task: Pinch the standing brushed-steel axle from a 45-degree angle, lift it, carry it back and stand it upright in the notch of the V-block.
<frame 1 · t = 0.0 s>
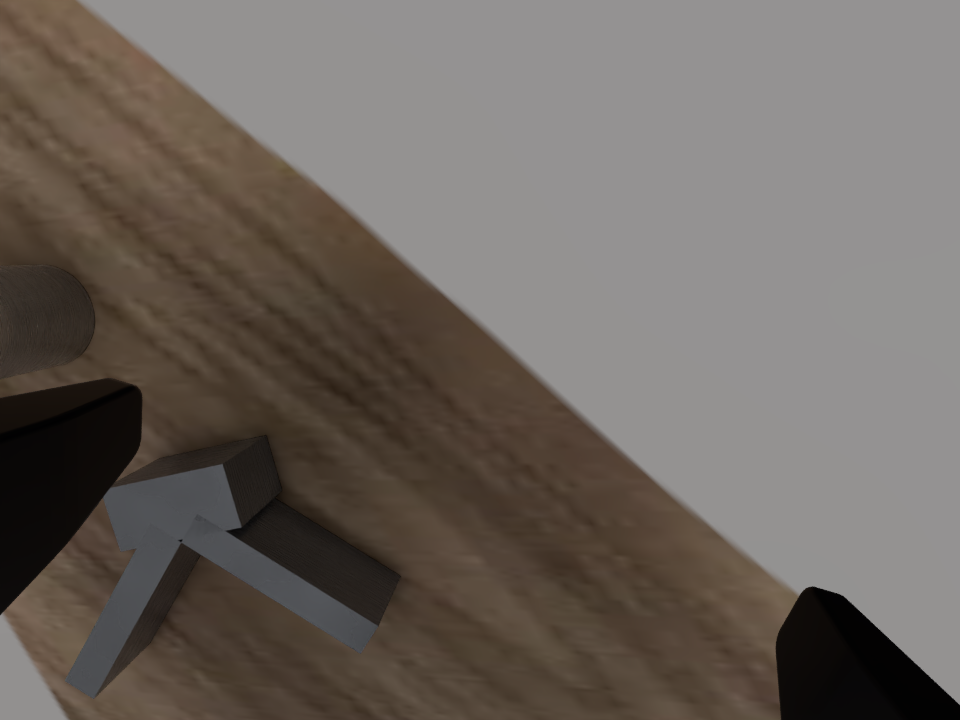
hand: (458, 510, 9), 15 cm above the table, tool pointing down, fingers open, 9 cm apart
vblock: (248, 569, 27), on the table
axle: (46, 315, 26), on the table
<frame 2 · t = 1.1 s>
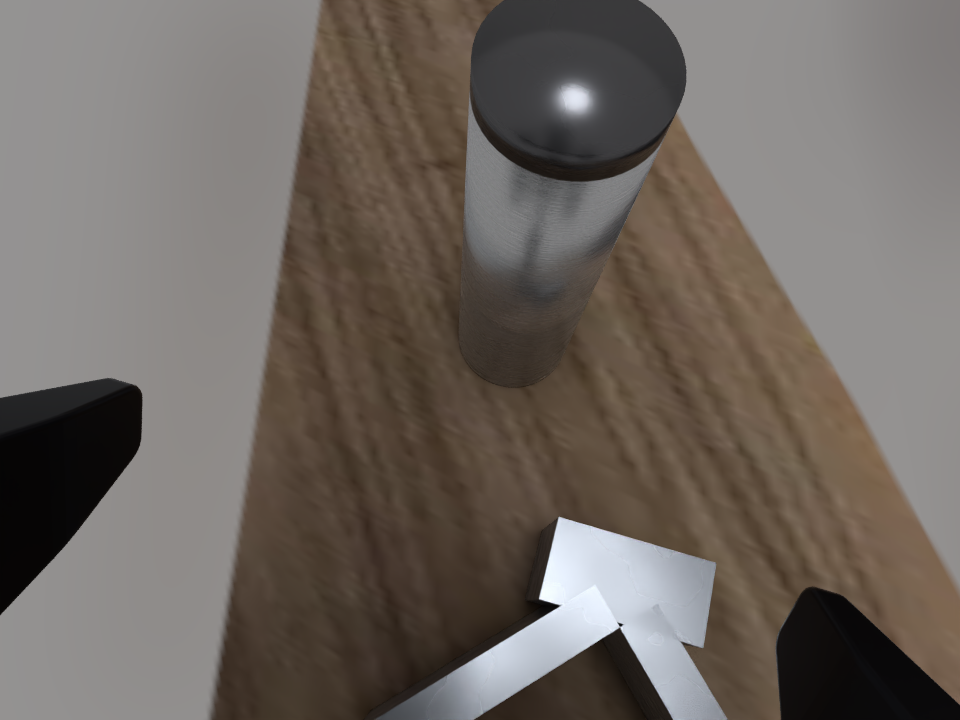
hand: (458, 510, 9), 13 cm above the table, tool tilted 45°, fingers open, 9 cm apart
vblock: (572, 718, 20), on the table
axle: (512, 336, 24), on the table
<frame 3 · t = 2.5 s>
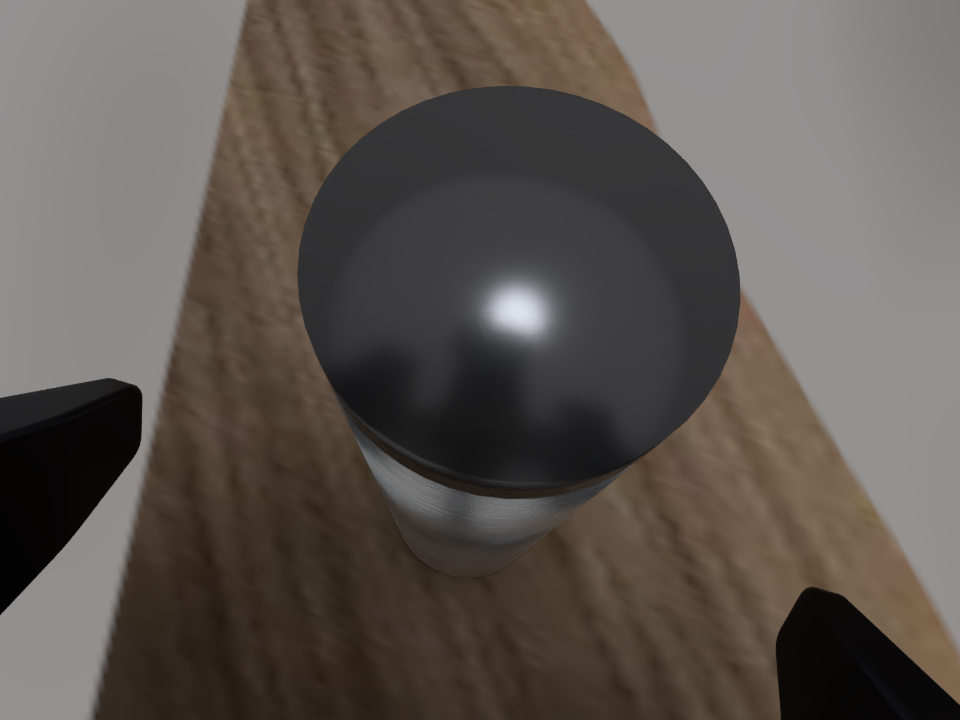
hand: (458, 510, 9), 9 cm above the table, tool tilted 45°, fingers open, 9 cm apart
axle: (467, 502, 18), on the table
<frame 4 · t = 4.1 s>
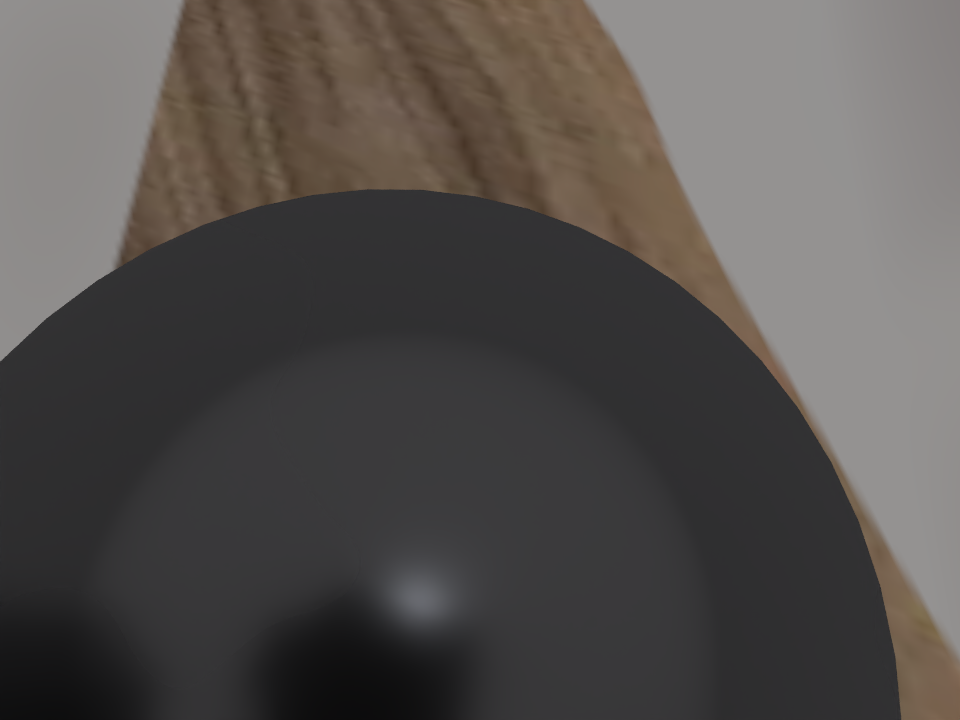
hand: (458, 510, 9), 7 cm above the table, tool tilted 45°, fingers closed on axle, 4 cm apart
axle: (433, 616, 15), on the table, touching gripper
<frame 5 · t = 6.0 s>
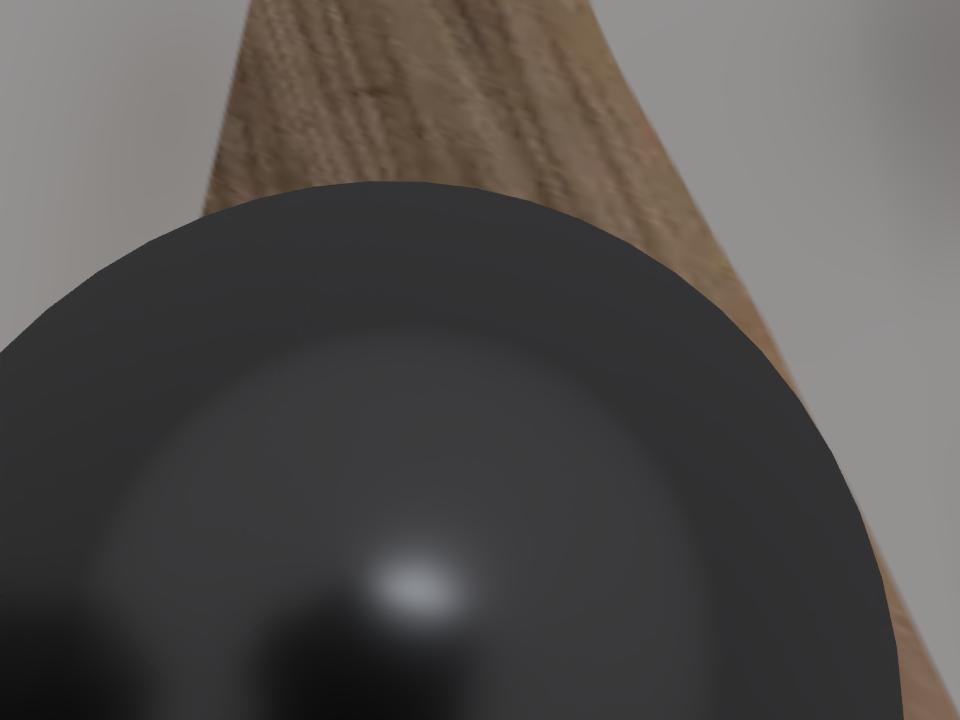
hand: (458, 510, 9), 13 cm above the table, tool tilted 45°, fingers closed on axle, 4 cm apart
axle: (433, 614, 15), point 7 cm above the table, touching gripper
when the fingers open (8 cm above the table, at t = 7.8 s): axle drops 1 cm, on the table.
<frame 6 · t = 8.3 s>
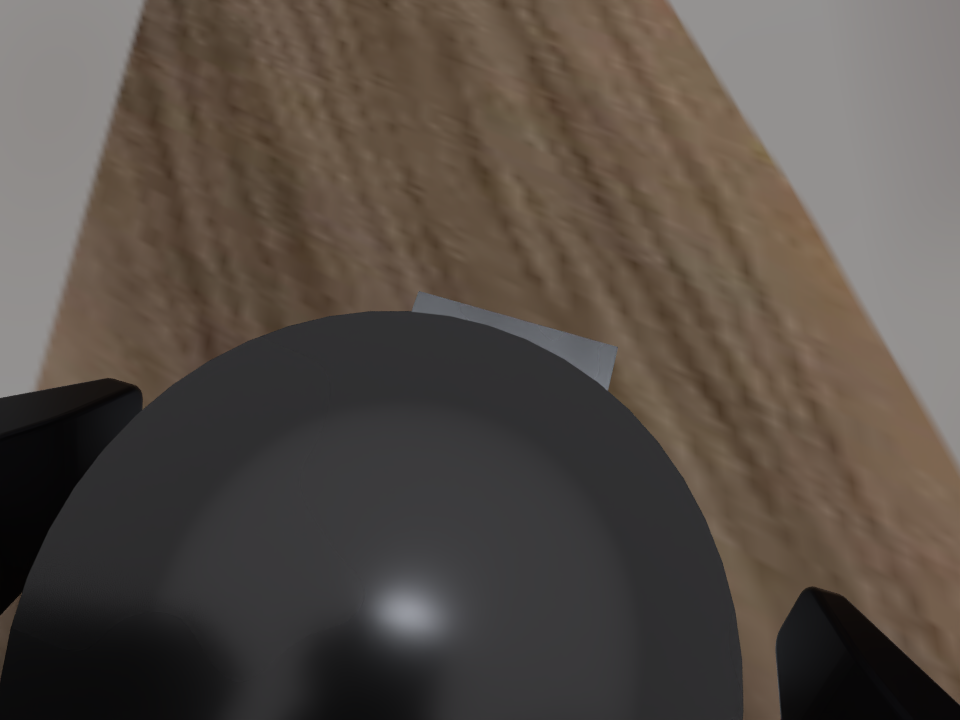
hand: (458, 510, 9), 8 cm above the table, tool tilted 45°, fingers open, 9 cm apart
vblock: (448, 564, 16), on the table
axle: (431, 619, 16), on the table
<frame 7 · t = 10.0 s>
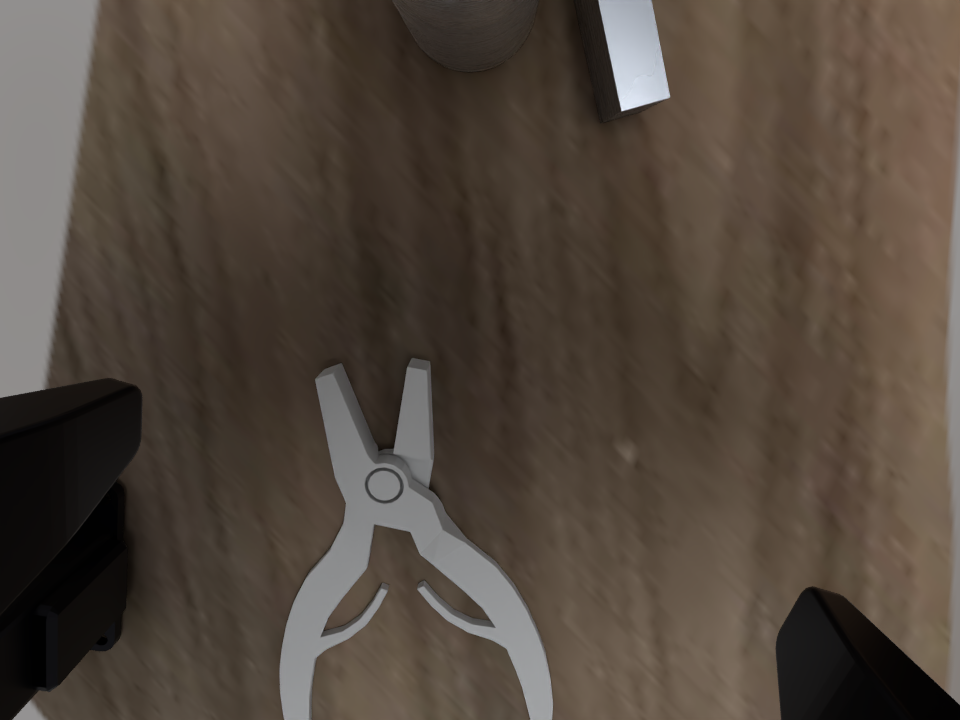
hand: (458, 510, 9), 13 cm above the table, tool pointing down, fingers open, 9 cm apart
axle: (470, 0, 19), on the table
pliers: (403, 559, 25), on the table
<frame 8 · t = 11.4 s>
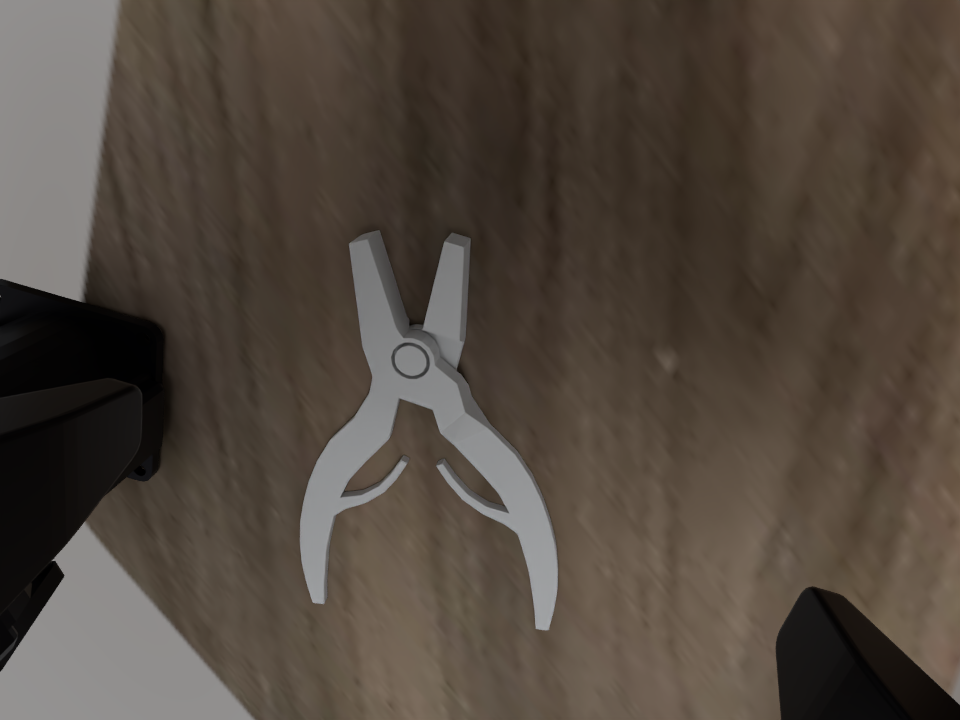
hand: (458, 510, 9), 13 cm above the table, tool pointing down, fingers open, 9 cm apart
pliers: (427, 435, 25), on the table
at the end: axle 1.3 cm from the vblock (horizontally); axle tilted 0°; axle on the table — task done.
